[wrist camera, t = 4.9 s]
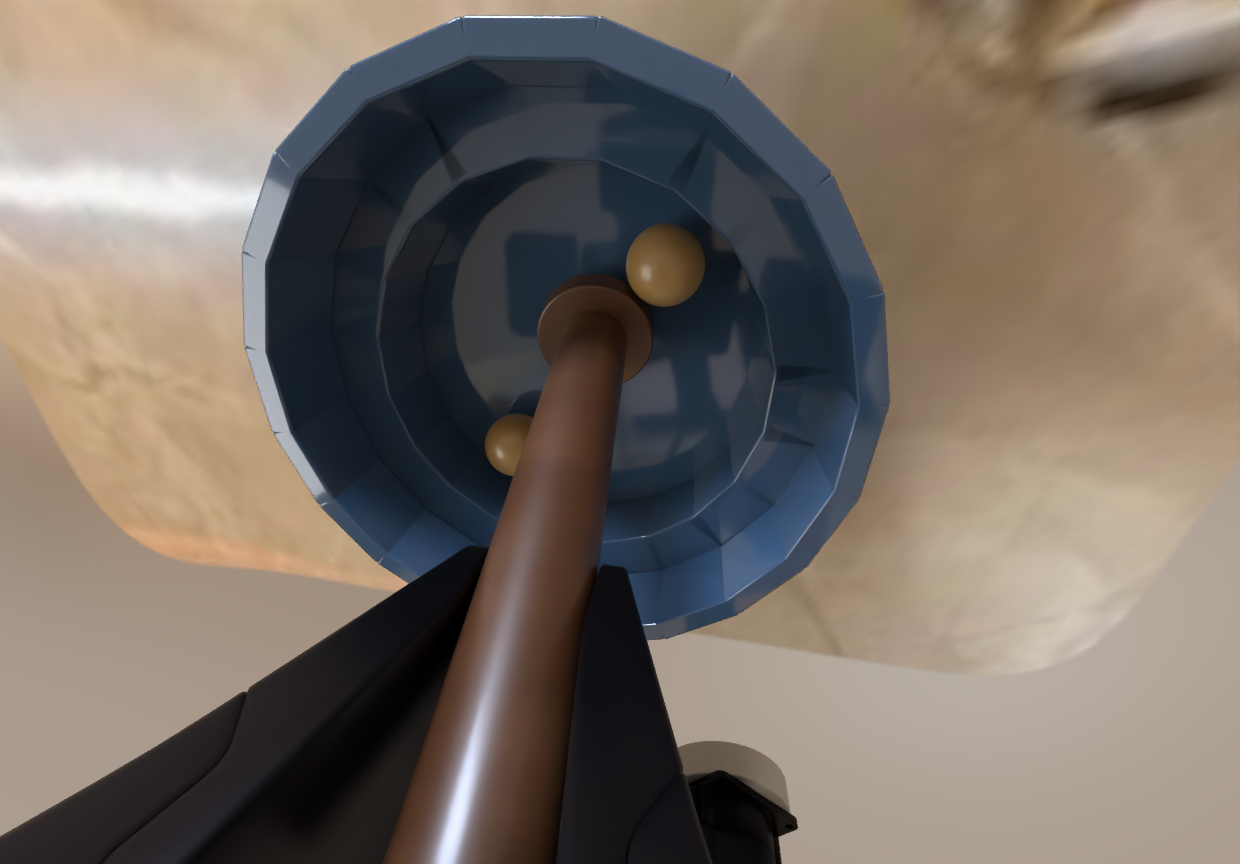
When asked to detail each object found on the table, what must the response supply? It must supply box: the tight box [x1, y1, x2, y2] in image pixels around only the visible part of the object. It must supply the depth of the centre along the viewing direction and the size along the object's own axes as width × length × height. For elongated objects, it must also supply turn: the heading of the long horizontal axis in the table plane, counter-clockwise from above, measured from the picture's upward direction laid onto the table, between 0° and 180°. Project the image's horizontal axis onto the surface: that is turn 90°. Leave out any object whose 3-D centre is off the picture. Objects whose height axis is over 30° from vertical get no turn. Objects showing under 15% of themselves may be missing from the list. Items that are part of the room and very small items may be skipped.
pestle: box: [382, 274, 654, 864], centre depth 9 cm, size 3×3×12 cm
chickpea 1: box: [485, 413, 533, 476], centre depth 15 cm, size 2×2×2 cm
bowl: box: [242, 15, 890, 640], centre depth 13 cm, size 14×14×5 cm
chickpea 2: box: [626, 223, 705, 307], centre depth 12 cm, size 2×2×2 cm
